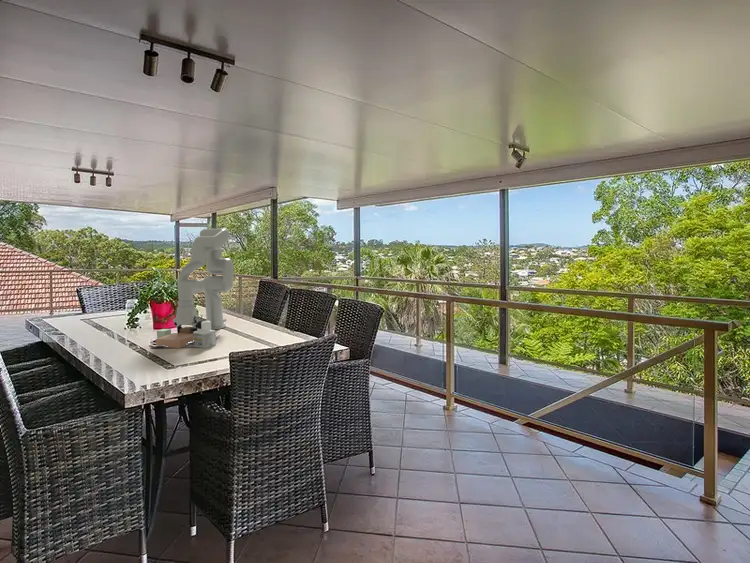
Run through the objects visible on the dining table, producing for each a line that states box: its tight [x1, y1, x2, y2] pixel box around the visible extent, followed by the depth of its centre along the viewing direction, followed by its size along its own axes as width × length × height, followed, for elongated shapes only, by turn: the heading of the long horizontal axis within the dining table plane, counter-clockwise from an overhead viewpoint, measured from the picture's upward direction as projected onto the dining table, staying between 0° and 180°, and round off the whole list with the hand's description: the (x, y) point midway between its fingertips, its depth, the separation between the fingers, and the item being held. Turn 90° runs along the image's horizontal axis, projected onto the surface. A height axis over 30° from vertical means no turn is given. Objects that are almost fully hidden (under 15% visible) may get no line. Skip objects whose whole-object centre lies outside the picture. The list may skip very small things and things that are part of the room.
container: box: [193, 319, 217, 349], centre depth 223 cm, size 8×8×13 cm
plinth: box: [155, 332, 193, 349], centre depth 228 cm, size 14×14×4 cm
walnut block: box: [180, 326, 194, 334], centre depth 240 cm, size 6×6×6 cm
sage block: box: [156, 328, 172, 339], centre depth 241 cm, size 5×5×5 cm
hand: (187, 334), depth 240 cm, fingers open, 9 cm apart
